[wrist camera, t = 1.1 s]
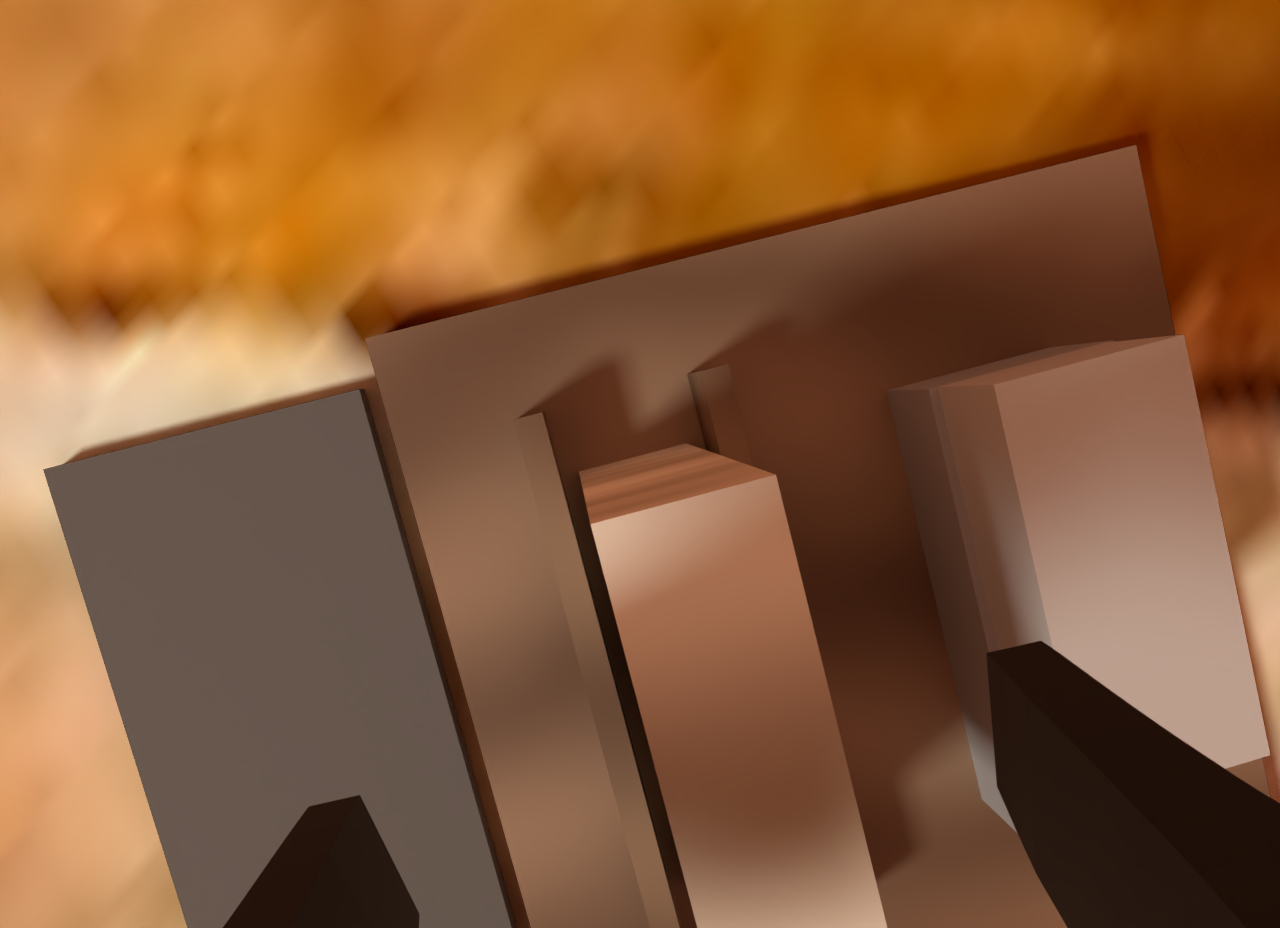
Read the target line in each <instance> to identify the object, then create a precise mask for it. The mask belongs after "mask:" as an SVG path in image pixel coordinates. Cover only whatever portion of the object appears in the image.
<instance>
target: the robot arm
mask: <svg viewBox="0 0 1280 928" xmlns="http://www.w3.org/2000/svg"><path fill="white" fill-rule="evenodd" d="M986 656H987V669H988V681H989V693H990V706H991V718H992V731H993V743H994V756H995V768H996V781H997V788H998V790H999V792H1000V795H1001V797H1002V799H1003V801H1004V804H1005V806H1006V808H1007V811H1008V813H1009V815H1010V817H1011V820H1012V822H1013V824H1014V826H1015V829H1016V831H1017V833H1018V836H1019V838H1020V840H1021V842H1022V844H1023V846H1024V849H1025V851H1026V853H1027V855H1028V857H1029V859H1030V862H1031V864H1032V866H1033V868H1034V870H1035V872H1036V874H1037V876H1038V878H1039V880H1040V881H1041V883H1042V885H1043V887H1044V888H1045V890H1046V892H1047V894H1048V895H1049V897H1050V899H1051V900H1052V902H1053V904H1054V906H1055V907H1056V909H1057V911H1058V912H1059V914H1060V916H1061V917H1062V919H1063V921H1064V923H1065V924H1066V926H1067V928H1280V803H1278V802H1277V801H1275V800H1273V799H1272V798H1270V797H1269V796H1267V795H1265V794H1264V793H1262V792H1261V791H1259V790H1257V789H1256V788H1254V787H1253V786H1251V785H1250V784H1248V783H1246V782H1245V781H1243V780H1242V779H1240V778H1238V777H1237V776H1235V775H1234V774H1232V773H1231V772H1229V771H1228V770H1226V769H1225V768H1223V767H1222V766H1220V765H1219V764H1217V763H1216V762H1214V761H1213V760H1211V759H1210V758H1208V757H1207V756H1205V755H1204V754H1202V753H1201V752H1199V751H1198V750H1196V749H1195V748H1193V747H1192V746H1190V745H1189V744H1187V743H1185V742H1184V741H1182V740H1181V739H1179V738H1178V737H1176V736H1175V735H1174V734H1172V733H1171V732H1169V731H1168V730H1166V729H1165V728H1163V727H1162V726H1160V725H1159V724H1158V723H1156V722H1155V721H1153V720H1152V719H1150V718H1149V717H1147V716H1146V715H1145V714H1143V713H1142V712H1140V711H1139V710H1138V709H1136V708H1135V707H1133V706H1132V705H1131V704H1129V703H1128V702H1126V701H1125V700H1124V699H1122V698H1121V697H1119V696H1118V695H1116V694H1115V693H1114V692H1112V691H1111V690H1110V689H1108V688H1107V687H1105V686H1104V685H1103V684H1101V683H1100V682H1098V681H1097V680H1096V679H1094V678H1093V677H1092V676H1090V675H1089V674H1088V673H1086V672H1085V671H1083V670H1082V669H1081V668H1079V667H1078V666H1077V665H1075V664H1074V663H1072V662H1071V661H1070V660H1068V659H1067V658H1066V657H1064V656H1063V655H1061V654H1060V653H1059V652H1057V651H1056V650H1055V649H1053V648H1052V647H1050V646H1049V645H1047V644H1046V643H1044V642H1042V641H1037V642H1033V643H1028V644H1024V645H1020V646H1015V647H1011V648H1006V649H1002V650H997V651H993V652H989V653H986ZM223 928H419V912H418V910H417V908H416V906H415V904H414V902H413V900H412V898H411V896H410V894H409V892H408V890H407V888H406V886H405V884H404V882H403V880H402V878H401V876H400V874H399V872H398V870H397V868H396V866H395V864H394V862H393V860H392V858H391V856H390V854H389V852H388V850H387V848H386V846H385V844H384V842H383V840H382V838H381V836H380V834H379V832H378V830H377V828H376V826H375V824H374V822H373V820H372V818H371V816H370V814H369V812H368V810H367V808H366V806H365V804H364V802H363V800H362V798H361V796H360V795H357V796H353V797H348V798H344V799H339V800H335V801H330V802H326V803H322V804H317V805H313V806H309V807H308V808H307V809H306V811H305V812H304V814H303V815H302V816H301V818H300V819H299V820H298V822H297V823H296V824H295V826H294V827H293V828H292V830H291V831H290V833H289V834H288V835H287V837H286V838H285V840H284V841H283V843H282V844H281V845H280V847H279V848H278V850H277V851H276V853H275V854H274V855H273V857H272V858H271V860H270V861H269V863H268V864H267V865H266V867H265V868H264V870H263V871H262V873H261V874H260V875H259V877H258V878H257V880H256V881H255V883H254V884H253V886H252V887H251V888H250V890H249V891H248V893H247V894H246V896H245V897H244V898H243V900H242V901H241V903H240V904H239V906H238V907H237V908H236V910H235V911H234V913H233V914H232V915H231V917H230V918H229V920H228V921H227V922H226V924H225V925H224V927H223Z"/></svg>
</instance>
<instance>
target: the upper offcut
mask: <svg viewBox="0 0 1280 928" xmlns="http://www.w3.org/2000/svg"><path fill="white" fill-rule="evenodd" d="M938 390H939V394H940V399H941V403H942V408H943V412H944V416H945V421H946V425H947V429H948V434H949V438H950V442H951V447H952V451H953V456H954V460H955V464H956V469H957V473H958V477H959V482H960V486H961V491H962V495H963V499H964V504H965V508H966V512H967V517H968V521H969V525H970V530H971V534H972V539H973V543H974V547H975V552H976V556H977V560H978V565H979V569H980V573H981V578H982V582H983V587H984V591H985V595H986V600H987V604H988V608H989V613H990V617H991V622H992V626H993V630H994V635H995V639H996V643H997V648H998V650H1002V649H1006V648H1011V647H1015V646H1020V645H1024V644H1028V643H1033V642H1037V641H1042V642H1044V643H1046V644H1047V645H1049V646H1050V647H1052V648H1053V649H1055V650H1056V651H1057V652H1059V653H1060V654H1061V655H1063V656H1064V657H1066V658H1067V659H1068V660H1070V661H1071V662H1072V663H1074V664H1075V665H1077V666H1078V667H1079V668H1081V669H1082V670H1083V671H1085V672H1086V673H1088V674H1089V675H1090V676H1092V677H1093V678H1094V679H1096V680H1097V681H1098V682H1100V683H1101V684H1103V685H1104V686H1105V687H1107V688H1108V689H1110V690H1111V691H1112V692H1114V693H1115V694H1116V695H1118V696H1119V697H1121V698H1122V699H1124V700H1125V701H1126V702H1128V703H1129V704H1131V705H1132V706H1133V707H1135V708H1136V709H1138V710H1139V711H1140V712H1142V713H1143V714H1145V715H1146V716H1147V717H1149V718H1150V719H1152V720H1153V721H1155V722H1156V723H1158V724H1159V725H1160V726H1162V727H1163V728H1165V729H1166V730H1168V731H1169V732H1171V733H1172V734H1174V735H1175V736H1176V737H1178V738H1179V739H1181V740H1182V741H1184V742H1185V743H1187V744H1189V745H1190V746H1192V747H1193V748H1195V749H1196V750H1198V751H1199V752H1201V753H1202V754H1204V755H1205V756H1207V757H1208V758H1210V759H1211V760H1213V761H1214V762H1216V763H1217V764H1219V765H1220V766H1222V767H1223V768H1225V769H1226V768H1229V767H1233V766H1236V765H1239V764H1243V763H1246V762H1249V761H1253V760H1256V759H1260V758H1263V757H1266V756H1270V751H1269V746H1268V741H1267V737H1266V732H1265V727H1264V722H1263V717H1262V712H1261V707H1260V702H1259V697H1258V693H1257V688H1256V683H1255V678H1254V673H1253V668H1252V663H1251V658H1250V654H1249V649H1248V644H1247V639H1246V634H1245V629H1244V624H1243V619H1242V615H1241V610H1240V605H1239V600H1238V595H1237V590H1236V585H1235V580H1234V576H1233V571H1232V566H1231V561H1230V556H1229V551H1228V546H1227V541H1226V536H1225V532H1224V527H1223V522H1222V517H1221V512H1220V507H1219V502H1218V497H1217V493H1216V488H1215V483H1214V478H1213V473H1212V468H1211V463H1210V458H1209V454H1208V449H1207V444H1206V439H1205V434H1204V429H1203V424H1202V419H1201V415H1200V410H1199V405H1198V400H1197V395H1196V390H1195V385H1194V380H1193V375H1192V371H1191V366H1190V361H1189V356H1188V351H1187V346H1186V341H1185V336H1184V334H1183V335H1173V336H1164V337H1154V338H1145V339H1135V340H1126V341H1117V342H1107V343H1102V344H1098V345H1094V346H1090V347H1086V348H1083V349H1079V350H1075V351H1071V352H1068V353H1064V354H1060V355H1056V356H1052V357H1049V358H1045V359H1041V360H1037V361H1033V362H1030V363H1026V364H1022V365H1018V366H1015V367H1011V368H1007V369H1003V370H999V371H996V372H992V373H988V374H984V375H981V376H977V377H973V378H969V379H965V380H962V381H958V382H954V383H950V384H947V385H943V386H939V387H938Z"/></svg>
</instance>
